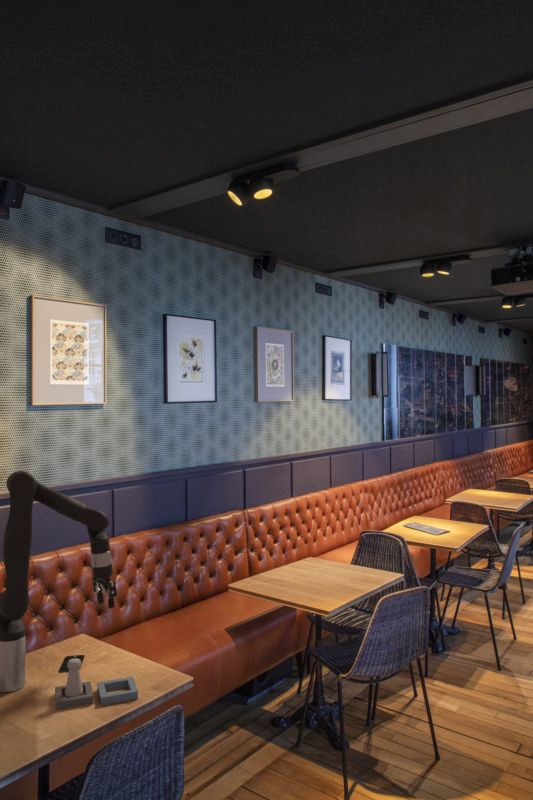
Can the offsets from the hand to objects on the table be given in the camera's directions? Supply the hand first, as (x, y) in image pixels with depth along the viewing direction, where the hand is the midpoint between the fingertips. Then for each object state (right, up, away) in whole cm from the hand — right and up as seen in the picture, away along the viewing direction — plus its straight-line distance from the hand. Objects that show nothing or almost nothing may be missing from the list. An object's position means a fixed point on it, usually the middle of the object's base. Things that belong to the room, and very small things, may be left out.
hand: (106, 605), depth 222 cm
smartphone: (-13, -23, +1) cm, 27 cm away
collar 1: (-3, -22, -27) cm, 35 cm away
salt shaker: (-3, -22, -27) cm, 35 cm away
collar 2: (+10, -22, -24) cm, 34 cm away
